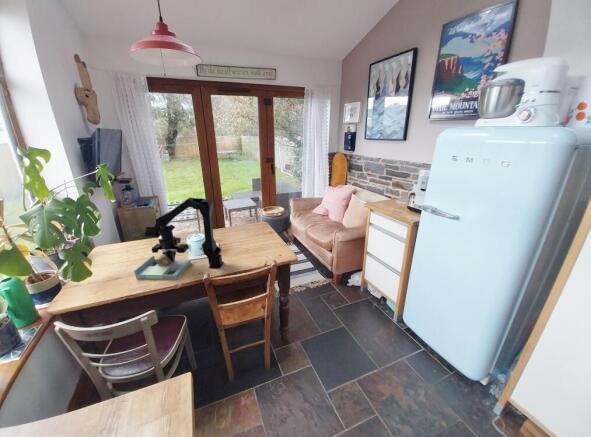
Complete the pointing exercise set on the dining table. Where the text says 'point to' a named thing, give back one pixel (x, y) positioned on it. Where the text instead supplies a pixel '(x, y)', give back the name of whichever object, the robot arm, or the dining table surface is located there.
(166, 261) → the walnut block
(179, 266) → the box
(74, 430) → the dining table surface
